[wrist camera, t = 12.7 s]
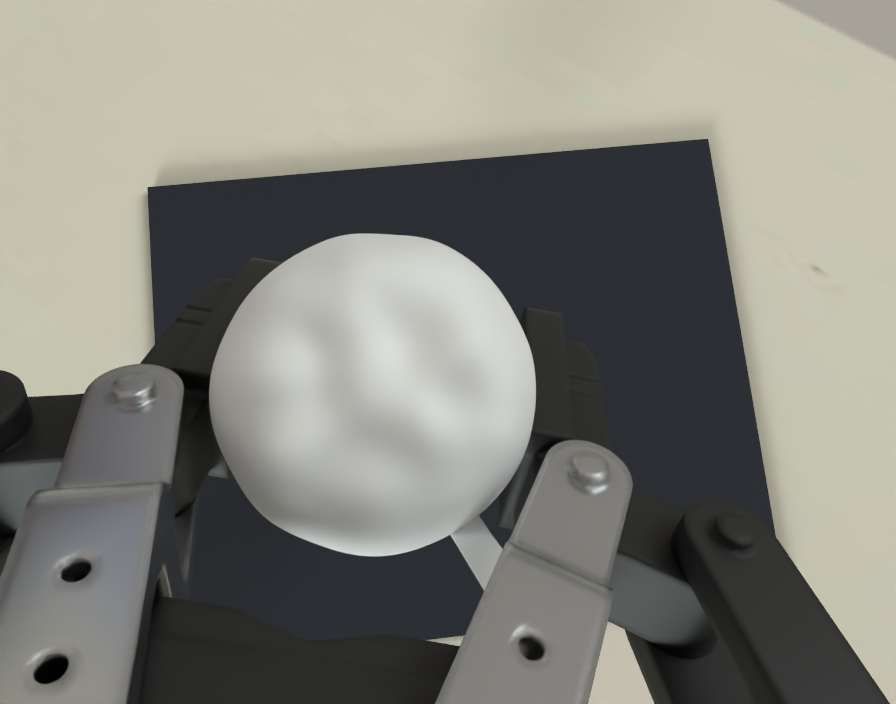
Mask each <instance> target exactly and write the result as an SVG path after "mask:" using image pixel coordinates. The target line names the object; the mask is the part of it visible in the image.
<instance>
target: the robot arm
mask: <svg viewBox="0 0 896 704" xmlns="http://www.w3.org/2000/svg"><path fill="white" fill-rule="evenodd" d="M281 264H282V262H276V261H271V260H265V259H260V258H254V257H253V258H251V259H250V260H249V261H248V262H247V264H246V265H245V266H244V268H243V269H242V271H241V272H240V273H239V275H238V276H237V278H236V279H235V280H234V279H228V278H222V277H221V278H219V279H217V280H215V281H213V282H211V283H210V284H208V285H206V286H204V287H202V288H200V289H199V290H198V291H197V293H196V294H195V295H194V296H193V298H192V299H191V300H190V301H189V303H188V304H187V307H186V308H184V309H183V310H182V312H181V313H180V314H179V315H178V317H177V318H176V321H174V322H173V323H172V324H171V325H170V327H169V328H168V329H167V330H166V332H165V333H164V334H163V335H162V337H161V338H160V339H159V340H158V342H157V343H156V344H155V345H154V347H153V348H152V349H151V350H150V352H149V353H148V354H147V356H146V357H145V358H144V359H143V361H142V362H141V363H140V364H135V365H128V366H123V367H119V368H116V369H113V370H111V371H108V372H106V373H104V374H103V375H101V376H99V377H98V378H96V379H95V380H94V381H93V382H92V383H91V384H90V385H89V386H88V388H87V389H86V391H85V393H84V394H76V395H60V396H40V397H27V394H26V391H25V388H24V385H23V383H22V381H21V380H20V379H19V378H18V377H17V376H15V375H13V374H11V373H9V372H6V371H2V370H0V704H588V701H589V697H590V693H591V689H592V684H593V680H594V676H595V672H596V668H597V663H598V659H599V655H600V651H601V647H602V642H603V638H604V634H605V630H606V626H607V621H609V622H611V623H613V624H615V625H617V626H619V627H621V628H623V629H625V631H626V634H627V638H628V640H629V642H630V645H631V647H632V650H633V652H634V655H635V657H636V660H637V662H638V664H639V667H640V669H641V672H642V674H643V677H644V679H645V681H646V684H647V686H648V689H649V691H650V694H651V696H652V699H653V701H654V703H655V704H890V703H889V702H888V700H887V699H886V697H885V696H884V694H883V693H882V691H881V690H880V688H879V687H878V686H877V684H876V683H875V681H874V680H873V678H872V677H871V675H870V674H869V672H868V671H867V669H866V668H865V667H864V665H863V664H862V662H861V661H860V659H859V658H858V656H857V655H856V653H855V652H854V651H853V649H852V648H851V646H850V645H849V643H848V642H847V640H846V639H845V637H844V636H843V634H842V633H841V632H840V630H839V629H838V627H837V626H836V624H835V623H834V621H833V620H832V618H831V617H830V615H829V614H828V613H827V611H826V610H825V608H824V607H823V605H822V604H821V602H820V601H819V599H818V598H817V596H816V595H815V594H814V592H813V591H812V589H811V588H810V586H809V585H808V583H807V582H806V580H805V579H804V577H803V576H802V575H801V573H800V572H799V570H798V569H797V567H796V566H795V564H794V563H793V561H792V560H791V559H790V557H789V556H788V554H787V553H786V551H785V550H784V548H783V547H782V545H781V544H780V542H779V541H778V540H777V538H776V537H775V535H774V534H773V532H772V531H771V530H770V528H769V527H768V526H767V525H766V524H765V523H764V522H763V521H762V520H761V519H760V518H759V517H758V516H757V515H755V514H754V513H753V512H751V511H750V510H748V509H747V508H745V507H743V506H741V505H739V504H737V503H735V502H732V501H729V500H726V499H722V498H716V497H707V498H701V499H698V500H696V501H694V502H692V503H691V504H690V505H689V506H688V508H687V509H686V511H684V510H682V509H680V508H677V507H675V506H673V505H670V504H668V503H666V502H664V501H661V500H659V499H657V498H654V497H652V496H650V495H648V494H646V493H645V492H643V491H642V490H640V489H638V488H637V487H636V486H635V485H633V482H632V477H631V474H630V472H629V470H628V468H627V467H626V465H625V464H624V463H623V461H622V460H621V459H620V458H619V457H618V456H616V455H615V454H614V453H612V449H611V443H610V436H609V430H608V424H607V418H606V412H605V406H604V400H603V398H602V388H601V383H600V376H599V369H598V363H597V360H596V359H595V357H594V356H593V355H592V353H591V352H590V350H589V349H588V348H587V346H586V345H585V344H584V343H582V342H577V341H571V340H565V332H564V322H563V315H562V313H557V312H551V311H546V310H540V309H535V308H529V307H525V308H524V310H523V313H522V316H521V319H520V325H521V327H522V329H523V331H524V334H525V336H526V338H527V341H528V343H529V346H530V349H531V353H532V357H533V362H534V368H535V378H536V404H535V414H534V420H533V426H532V431H531V435H530V439H529V442H528V445H527V448H526V451H525V454H524V456H523V459H522V461H521V463H520V465H519V467H518V469H517V471H516V472H515V474H514V476H513V477H512V479H511V480H510V482H509V483H508V484H507V486H506V487H505V488H504V490H503V491H502V492H501V493H500V494H499V521H498V527H503V528H509V529H514V530H513V532H512V535H511V537H510V539H509V541H507V542H506V543H505V545H504V547H503V550H502V552H501V554H500V556H499V559H498V561H497V563H496V565H495V568H494V570H493V572H492V575H491V577H490V579H489V581H488V584H487V586H486V588H485V591H484V593H483V595H482V597H481V600H480V602H479V604H478V607H477V609H476V611H475V613H474V616H473V618H472V620H471V622H470V625H469V627H468V629H467V632H466V634H465V636H464V638H463V641H462V643H461V645H460V646H455V645H449V644H443V643H437V642H431V641H425V640H419V639H413V638H407V637H401V636H396V635H390V634H384V635H372V636H361V637H349V638H337V639H325V640H304V639H301V638H298V637H296V636H294V635H292V634H290V633H288V632H285V631H283V630H281V629H279V628H277V627H275V626H272V625H270V624H268V623H266V622H264V621H262V620H259V619H257V618H255V617H253V616H251V615H249V614H246V613H244V612H242V611H240V610H238V609H236V608H231V607H225V606H219V605H213V604H207V603H201V602H195V601H190V592H191V581H192V571H193V560H194V550H195V540H196V529H197V519H198V509H199V499H198V492H199V490H200V488H201V486H202V484H203V482H204V480H205V478H206V476H207V475H208V476H214V477H220V478H226V479H228V477H229V475H230V473H231V470H230V468H229V466H228V464H227V462H226V460H225V458H224V456H223V454H222V452H221V450H220V447H219V445H218V442H217V440H216V437H215V434H214V430H213V426H212V422H211V416H210V406H209V386H210V377H211V372H212V367H213V363H214V360H215V357H216V354H217V351H218V348H219V346H220V343H221V341H222V339H223V337H224V334H225V332H226V330H227V328H228V326H229V324H230V322H231V320H232V319H233V317H234V315H235V313H236V312H237V310H238V308H239V307H240V305H241V304H242V302H243V301H244V300H245V298H246V297H247V296H248V295H249V293H250V292H251V291H252V290H253V289H254V288H255V286H256V285H257V284H258V283H259V282H260V281H261V280H262V279H263V278H265V277H266V276H267V275H268V274H269V273H270V272H272V271H273V270H274V269H275V268H277V267H278V266H279V265H281Z"/></svg>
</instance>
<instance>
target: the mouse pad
mask: <svg viewBox="0 0 896 704" xmlns="http://www.w3.org/2000/svg"><path fill="white" fill-rule="evenodd" d="M148 207H149V227H150V248H151V269H152V289H153V310H154V330H155V344H156V343H157V342H158V340H159V339H160V338H161V337H162V335H163V334H164V333H165V332H166V330H167V329H168V328H169V327H170V325H171V324H172V323H173V322H174V321H176V318H177V317H178V315H179V314H180V313H181V312H182V310H183V309H184V308H186V307H187V304H188V303H189V301H190V300H191V299H192V298H193V296H194V295H195V294H196V293H197V291H198V290H199V289H200V288H202V287H204V286H206V285H208V284H210V283H211V282H213V281H215V280H217V279H219V278H221V277H222V278H228V279H234V280H235V279H236V278H237V276H238V275H239V273H240V272H241V271H242V269H243V268H244V266H245V265H246V264H247V262H248V261H249V260H250V259H251V258H253V257H254V258H260V259H265V260H271V261H276V262H282V263H284V262H285V261H287V260H288V259H290V258H291V257H293V256H294V255H296V254H298V253H300V252H302V251H303V250H305V249H307V248H309V247H312V246H314V245H316V244H318V243H320V242H323V241H325V240H328V239H331V238H334V237H338V236H342V235H348V234H363V233H365V234H390V235H406V236H415V237H421V238H426V239H430V240H433V241H436V242H439V243H442V244H444V245H446V246H448V247H450V248H452V249H454V250H455V251H457V252H459V253H460V254H462V255H463V256H465V257H466V258H468V259H469V260H470V261H472V262H473V263H474V264H475V265H477V266H478V267H479V268H480V269H481V270H482V271H483V272H484V273H485V274H486V275H487V276H488V277H489V278H490V279H491V280H492V281H493V282H494V284H495V285H496V286H497V287H498V289H499V290H500V291H501V293H502V294H503V296H504V297H505V299H506V300H507V302H508V303H509V305H510V307H511V308H512V310H513V312H514V314H515V316H516V317H517V319H518V321H519V323H520V319H521V316H522V313H523V310H524V308H525V307H529V308H535V309H540V310H546V311H551V312H557V313H562V315H563V322H564V332H565V340H571V341H577V342H582V343H584V344H585V345H586V346H587V348H588V349H589V350H590V352H591V353H592V355H593V356H594V357H595V359H596V360H597V363H598V369H599V376H600V383H601V388H602V398H603V400H604V406H605V412H606V418H607V424H608V430H609V436H610V443H611V449H612V453H614V454H615V455H616V456H618V457H619V458H620V459H621V460H622V461H623V463H624V464H625V465H626V467H627V468H628V470H629V472H630V474H631V477H632V482H633V485H635V486H636V487H637V488H638V489H640V490H642V491H643V492H645V493H646V494H648V495H650V496H652V497H654V498H657V499H659V500H661V501H664V502H666V503H668V504H670V505H673V506H675V507H677V508H680V509H682V510H684V511H686V509H687V508H688V506H689V505H690V504H691V503H692V502H694V501H696V500H698V499H701V498H707V497H716V498H722V499H726V500H729V501H732V502H735V503H737V504H739V505H741V506H743V507H745V508H747V509H748V510H750V511H751V512H753V513H754V514H755V515H757V516H758V517H759V518H760V519H761V520H762V521H763V522H764V523H765V524H766V525H767V526H768V527H769V528H770V530H771V531H772V532H773V534H774V535H775V530H774V524H773V518H772V512H771V507H770V501H769V495H768V489H767V483H766V477H765V471H764V465H763V460H762V454H761V448H760V442H759V436H758V430H757V424H756V418H755V413H754V407H753V401H752V395H751V389H750V383H749V377H748V371H747V366H746V360H745V354H744V348H743V342H742V336H741V330H740V324H739V319H738V313H737V307H736V301H735V295H734V289H733V283H732V277H731V272H730V266H729V260H728V254H727V248H726V242H725V236H724V230H723V225H722V219H721V213H720V207H719V201H718V195H717V189H716V183H715V178H714V172H713V166H712V160H711V154H710V148H709V142H708V139H702V140H690V141H679V142H667V143H655V144H644V145H632V146H621V147H609V148H597V149H586V150H574V151H563V152H551V153H540V154H528V155H516V156H505V157H493V158H482V159H470V160H458V161H447V162H435V163H424V164H412V165H401V166H389V167H377V168H366V169H354V170H343V171H331V172H319V173H308V174H296V175H285V176H273V177H262V178H250V179H238V180H227V181H215V182H204V183H192V184H180V185H169V186H157V187H148ZM198 499H199V509H198V519H197V529H196V540H195V550H194V560H193V571H192V581H191V592H190V601H195V602H201V603H207V604H213V605H219V606H225V607H231V608H236V609H238V610H240V611H242V612H244V613H246V614H249V615H251V616H253V617H255V618H257V619H259V620H262V621H264V622H266V623H268V624H270V625H272V626H275V627H277V628H279V629H281V630H283V631H285V632H288V633H290V634H292V635H294V636H296V637H298V638H301V639H304V640H325V639H337V638H349V637H361V636H372V635H384V634H390V635H396V636H401V637H407V638H413V639H419V640H430V639H438V638H446V637H454V636H462V635H465V634H466V632H467V629H468V627H469V625H470V622H471V620H472V618H473V616H474V613H475V611H476V609H477V607H478V604H479V602H480V600H481V597H482V595H483V593H484V590H483V589H482V587H481V585H480V584H479V582H478V580H477V579H476V577H475V575H474V574H473V572H472V570H471V569H470V567H469V565H468V564H467V562H466V560H465V559H464V557H463V555H462V554H461V552H460V550H459V549H458V547H457V546H456V544H455V542H454V541H453V539H452V537H451V536H450V535H449V536H447V537H445V538H443V539H441V540H439V541H436V542H434V543H432V544H430V545H427V546H424V547H422V548H419V549H416V550H413V551H409V552H405V553H401V554H396V555H389V556H359V555H353V554H347V553H343V552H339V551H336V550H332V549H329V548H326V547H323V546H320V545H318V544H315V543H312V542H309V541H307V540H304V539H302V538H299V537H297V536H295V535H293V534H291V533H289V532H287V531H285V530H283V529H281V528H279V527H278V526H276V525H275V524H273V523H271V522H270V521H269V520H268V519H266V518H265V517H264V516H263V515H262V514H261V513H260V512H259V511H258V510H257V509H256V508H255V507H254V506H253V505H252V503H251V502H250V501H249V500H248V498H247V497H246V495H245V494H244V492H243V491H242V489H241V488H240V486H239V484H238V483H237V481H236V479H235V477H234V476H233V474H232V472H231V473H230V475H229V477H228V479H226V478H220V477H214V476H208V475H207V476H206V478H205V480H204V482H203V484H202V486H201V488H200V490H199V492H198ZM479 516H480V518H481V519H482V520H483V522H484V523H485V525H486V526H487V527H488V529H489V530H490V531H491V533H492V534H493V535H494V537H495V538H496V540H497V541H498V542H499V544H500V545H501V546H502V548H503V547H504V545H505V543H506V542H507V541H509V539H510V537H511V535H512V532H513V530H514V529H509V528H503V527H498V521H499V496H498V497H497V498H496V499H495V500H494V501H493V502H492V503H491V504H490V505H489V506H488V507H487V508H486V509H485V510H484V511H483V512H482V513H481V514H479ZM775 537H776V536H775Z"/></svg>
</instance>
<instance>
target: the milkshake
mask: <svg viewBox="0 0 896 704" xmlns="http://www.w3.org/2000/svg"><path fill="white" fill-rule="evenodd" d="M535 404H536V378H535V368H534V362H533V357H532V353H531V349H530V346H529V343H528V341H527V338H526V336H525V334H524V331H523V329H522V327H521V325H520V323H519V321H518V319H517V317H516V316H515V314H514V312H513V310H512V308H511V307H510V305H509V303H508V302H507V300H506V299H505V297H504V296H503V294H502V293H501V291H500V290H499V289H498V287H497V286H496V285H495V284H494V282H493V281H492V280H491V279H490V278H489V277H488V276H487V275H486V274H485V273H484V272H483V271H482V270H481V269H480V268H479V267H478V266H477V265H475V264H474V263H473V262H472V261H470V260H469V259H468V258H466V257H465V256H463V255H462V254H460V253H459V252H457V251H455V250H454V249H452V248H450V247H448V246H446V245H444V244H442V243H439V242H436V241H433V240H430V239H426V238H421V237H415V236H406V235H390V234H365V233H363V234H348V235H342V236H338V237H334V238H331V239H328V240H325V241H323V242H320V243H318V244H316V245H314V246H312V247H309V248H307V249H305V250H303V251H302V252H300V253H298V254H296V255H294V256H293V257H291V258H290V259H288V260H287V261H285V262H284V263H282V264H281V265H279V266H278V267H277V268H275V269H274V270H273V271H272V272H270V273H269V274H268V275H267V276H266V277H265V278H263V279H262V280H261V281H260V282H259V283H258V284H257V285H256V286H255V288H254V289H253V290H252V291H251V292H250V293H249V295H248V296H247V297H246V298H245V300H244V301H243V302H242V304H241V305H240V307H239V308H238V310H237V312H236V313H235V315H234V317H233V319H232V320H231V322H230V324H229V326H228V328H227V330H226V332H225V334H224V337H223V339H222V341H221V343H220V346H219V348H218V351H217V354H216V357H215V360H214V363H213V367H212V372H211V377H210V386H209V406H210V416H211V422H212V426H213V430H214V434H215V437H216V440H217V442H218V445H219V447H220V450H221V452H222V454H223V456H224V458H225V460H226V462H227V464H228V466H229V468H230V470H231V472H232V474H233V476H234V477H235V479H236V481H237V483H238V484H239V486H240V488H241V489H242V491H243V492H244V494H245V495H246V497H247V498H248V500H249V501H250V502H251V503H252V505H253V506H254V507H255V508H256V509H257V510H258V511H259V512H260V513H261V514H262V515H263V516H264V517H265V518H266V519H268V520H269V521H270V522H271V523H273V524H275V525H276V526H278V527H279V528H281V529H283V530H285V531H287V532H289V533H291V534H293V535H295V536H297V537H299V538H302V539H304V540H307V541H309V542H312V543H315V544H318V545H320V546H323V547H326V548H329V549H332V550H336V551H339V552H343V553H347V554H353V555H359V556H389V555H396V554H401V553H405V552H409V551H413V550H416V549H419V548H422V547H424V546H427V545H430V544H432V543H434V542H436V541H439V540H441V539H443V538H445V537H447V536H449V535H450V536H451V537H452V539H453V541H454V542H455V544H456V546H457V547H458V549H459V550H460V552H461V554H462V555H463V557H464V559H465V560H466V562H467V564H468V565H469V567H470V569H471V570H472V572H473V574H474V575H475V577H476V579H477V580H478V582H479V584H480V585H481V587H482V589H483V590H484V591H485V588H486V586H487V584H488V581H489V579H490V577H491V575H492V572H493V570H494V568H495V565H496V563H497V561H498V559H499V556H500V554H501V552H502V550H503V548H502V546H501V545H500V544H499V542H498V541H497V540H496V538H495V537H494V535H493V534H492V533H491V531H490V530H489V529H488V527H487V526H486V525H485V523H484V522H483V520H482V519H481V518H480V516H479V514H481V513H482V512H483V511H484V510H485V509H486V508H487V507H488V506H489V505H490V504H491V503H492V502H493V501H494V500H495V499H496V498H497V497H498V496H499V494H500V493H501V492H502V491H503V490H504V488H505V487H506V486H507V484H508V483H509V482H510V480H511V479H512V477H513V476H514V474H515V472H516V471H517V469H518V467H519V465H520V463H521V461H522V459H523V456H524V454H525V451H526V448H527V445H528V442H529V439H530V435H531V431H532V426H533V420H534V414H535Z"/></svg>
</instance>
